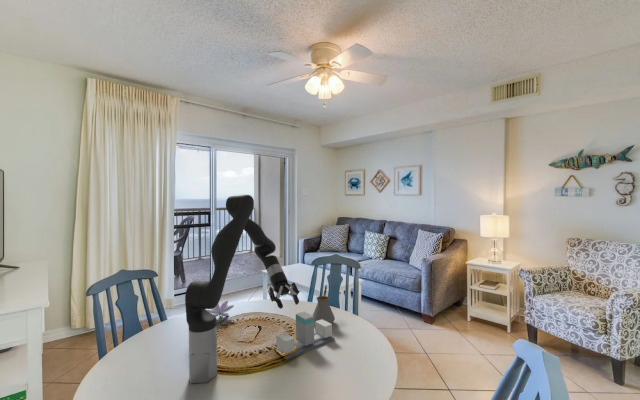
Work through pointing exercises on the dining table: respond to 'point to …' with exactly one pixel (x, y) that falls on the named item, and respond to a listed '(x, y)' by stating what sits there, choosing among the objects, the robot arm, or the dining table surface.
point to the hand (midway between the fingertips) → (289, 305)
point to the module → (305, 328)
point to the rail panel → (287, 343)
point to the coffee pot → (323, 309)
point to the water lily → (221, 310)
